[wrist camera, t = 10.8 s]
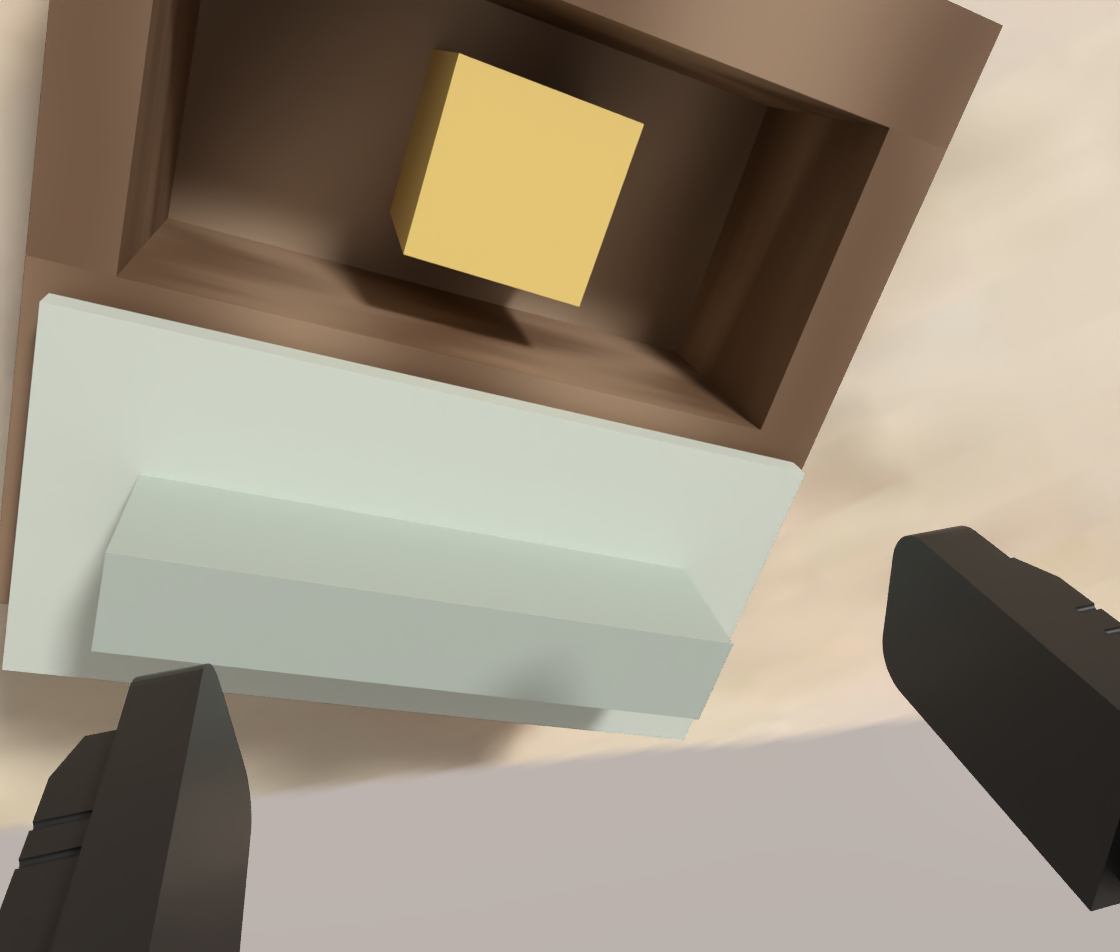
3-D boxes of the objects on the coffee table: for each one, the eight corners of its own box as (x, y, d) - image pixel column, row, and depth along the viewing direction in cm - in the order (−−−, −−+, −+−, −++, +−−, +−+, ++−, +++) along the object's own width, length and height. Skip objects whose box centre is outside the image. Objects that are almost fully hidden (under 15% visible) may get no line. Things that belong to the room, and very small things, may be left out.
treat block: (584, 106, 23) (644, 124, 19) (534, 257, 24) (578, 306, 20) (433, 48, 22) (459, 53, 17) (389, 212, 23) (403, 254, 19)
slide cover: (793, 462, 22) (872, 536, 18) (676, 724, 24) (727, 827, 21) (48, 292, 16) (-19, 355, 13) (11, 652, 19) (-53, 774, 16)
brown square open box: (844, 26, 24) (1002, 25, 18) (631, 565, 30) (701, 690, 24) (162, -264, 18) (87, -394, 13) (71, 470, 25) (-8, 601, 19)
